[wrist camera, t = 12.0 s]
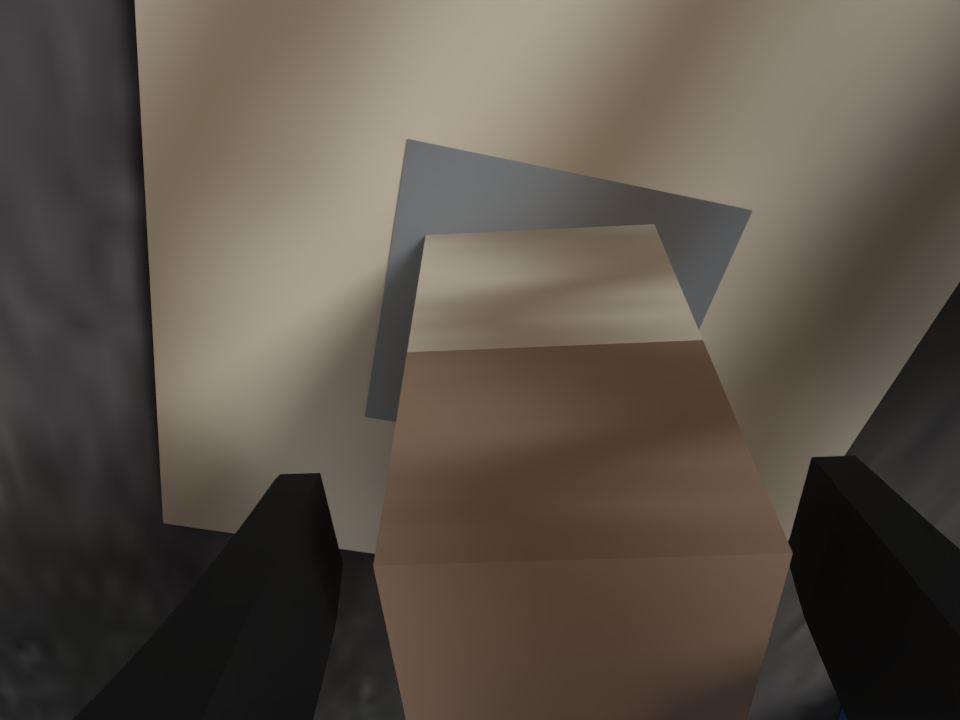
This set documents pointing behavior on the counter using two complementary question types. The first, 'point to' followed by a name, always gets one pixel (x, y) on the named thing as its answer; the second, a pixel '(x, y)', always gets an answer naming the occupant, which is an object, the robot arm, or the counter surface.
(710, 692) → the block stack
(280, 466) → the birch board
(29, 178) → the counter surface
